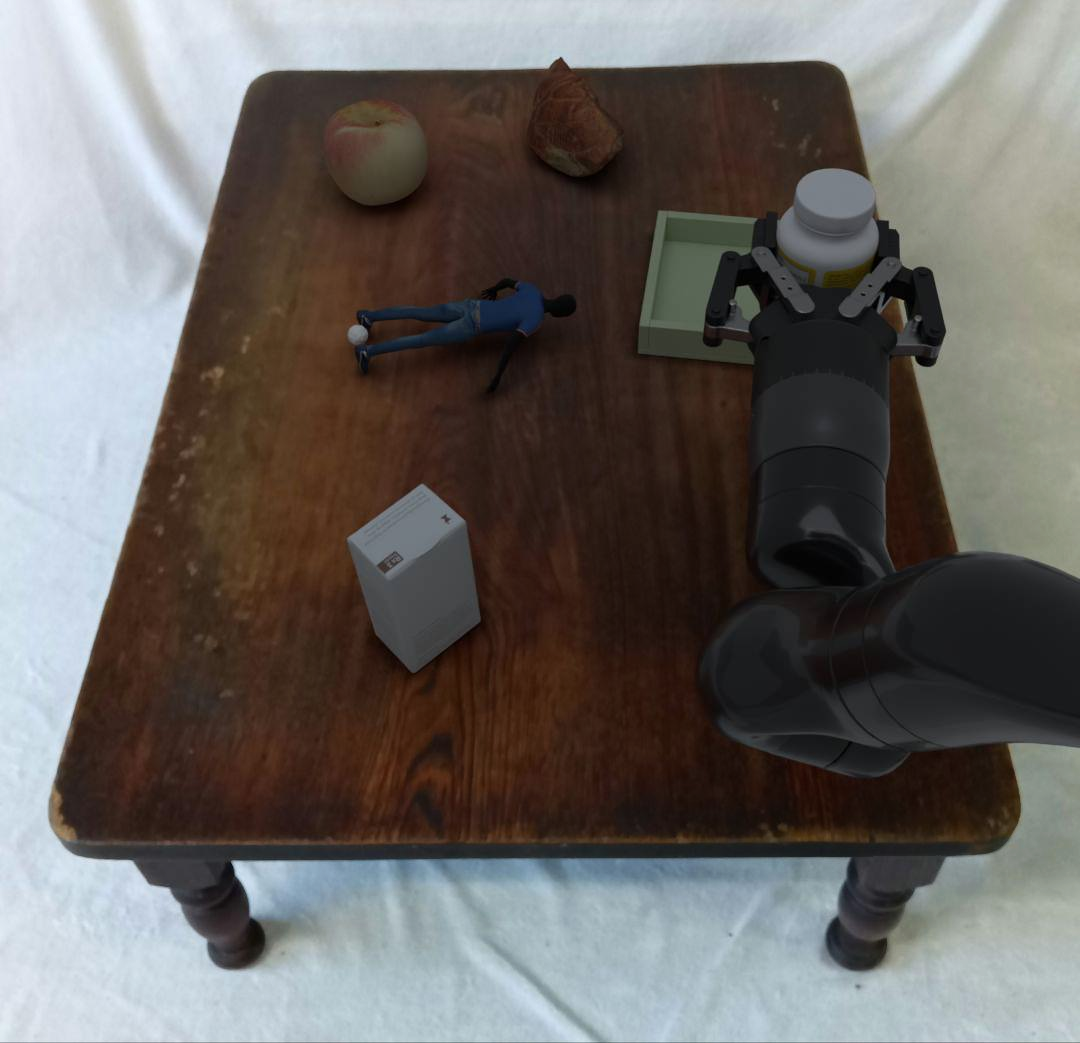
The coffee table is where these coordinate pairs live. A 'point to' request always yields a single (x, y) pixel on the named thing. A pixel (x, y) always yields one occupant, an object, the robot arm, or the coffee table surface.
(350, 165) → the apple
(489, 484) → the coffee table surface
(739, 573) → the coffee table surface
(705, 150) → the coffee table surface
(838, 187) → the pill bottle
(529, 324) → the person figurine
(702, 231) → the tray
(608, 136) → the fossil
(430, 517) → the cosmetic box
